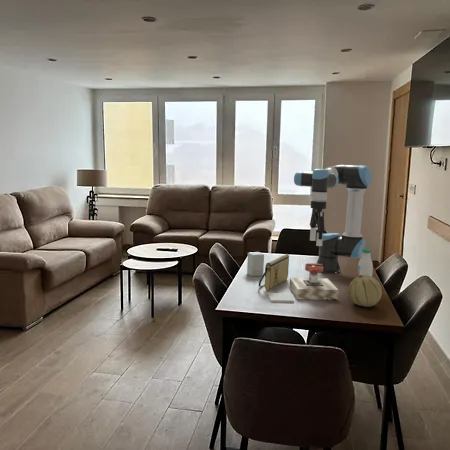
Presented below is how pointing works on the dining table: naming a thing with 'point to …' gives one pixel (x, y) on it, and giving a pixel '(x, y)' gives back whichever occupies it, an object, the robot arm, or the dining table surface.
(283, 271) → the clutch purse
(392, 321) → the dining table surface
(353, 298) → the cantaloupe
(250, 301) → the dining table surface
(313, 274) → the screw pin
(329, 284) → the block
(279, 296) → the rubber mat
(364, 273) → the milk bottle
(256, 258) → the supplement box
